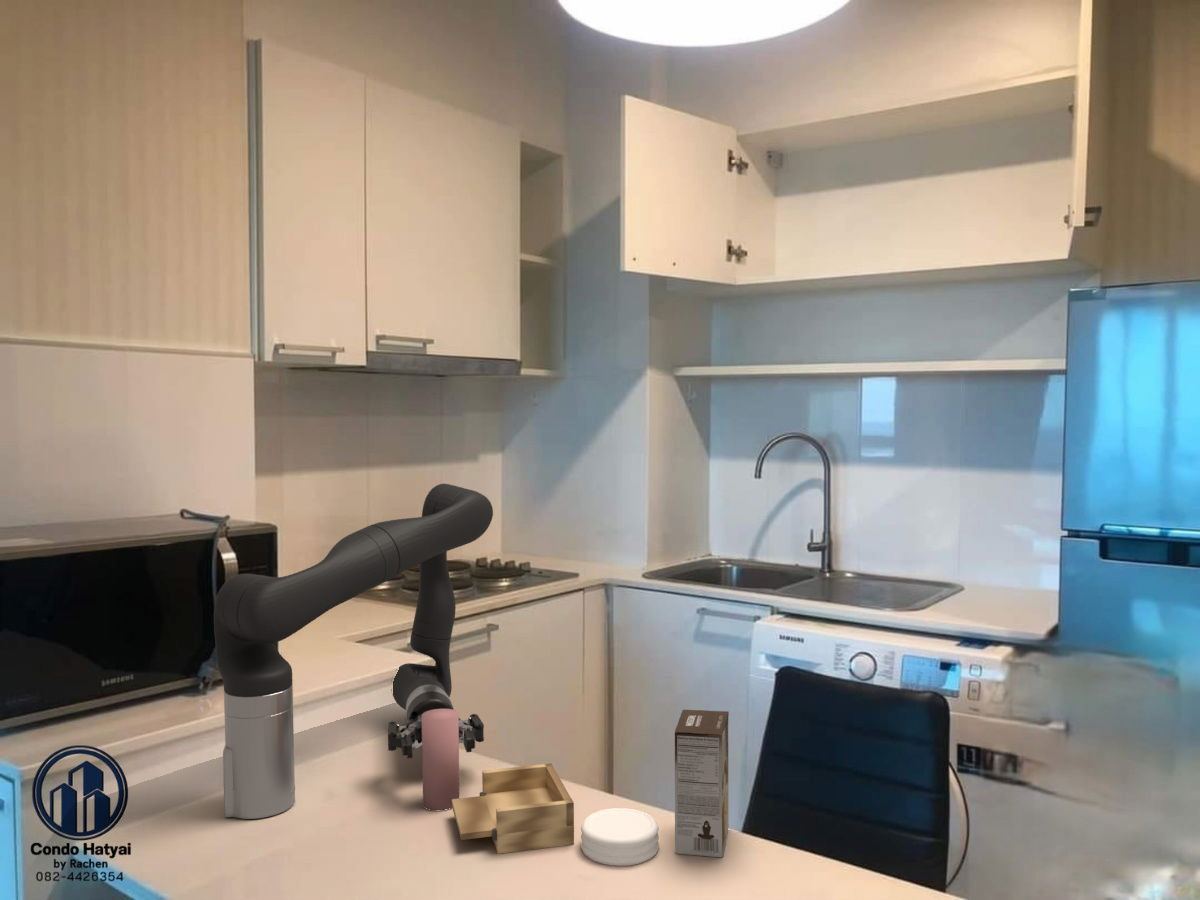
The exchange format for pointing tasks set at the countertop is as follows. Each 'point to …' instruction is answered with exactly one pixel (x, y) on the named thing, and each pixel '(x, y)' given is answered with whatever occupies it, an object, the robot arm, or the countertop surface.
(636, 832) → the white round ridged container
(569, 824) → the box
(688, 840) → the coffee box
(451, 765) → the pink pillar candle
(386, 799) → the countertop surface
